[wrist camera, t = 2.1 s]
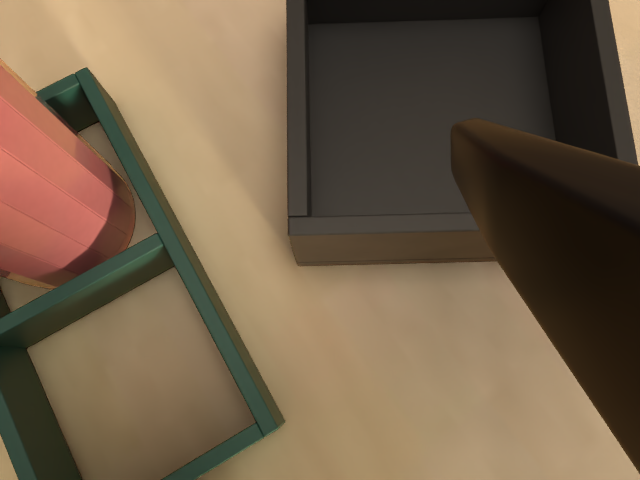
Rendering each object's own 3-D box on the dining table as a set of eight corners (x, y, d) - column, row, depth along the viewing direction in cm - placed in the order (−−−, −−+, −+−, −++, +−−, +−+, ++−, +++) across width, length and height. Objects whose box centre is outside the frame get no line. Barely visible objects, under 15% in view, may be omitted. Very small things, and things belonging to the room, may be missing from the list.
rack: (285, 421, 22) (278, 428, 19) (91, 540, 21) (52, 566, 18) (114, 101, 26) (86, 66, 23) (-58, 188, 25) (-109, 164, 22)
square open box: (579, 259, 23) (650, 226, 18) (297, 266, 23) (287, 235, 18) (544, 15, 26) (595, -73, 21) (294, 23, 27) (286, -62, 21)
